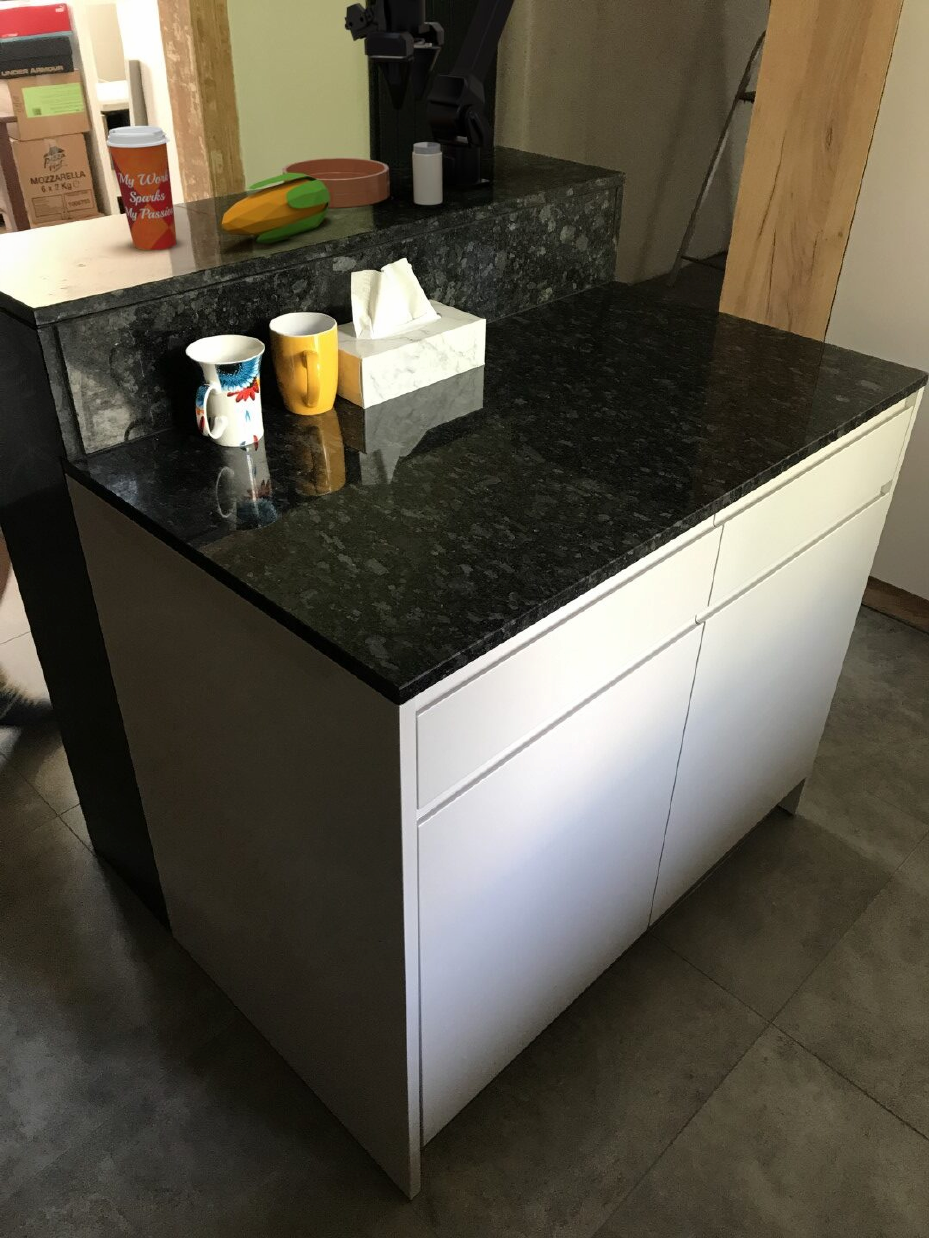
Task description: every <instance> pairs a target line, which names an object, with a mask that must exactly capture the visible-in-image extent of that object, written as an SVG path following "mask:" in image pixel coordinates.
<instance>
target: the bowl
mask: <svg viewBox="0 0 929 1238" xmlns="http://www.w3.org/2000/svg"><path fill="white" fill-rule="evenodd" d="M281 172H282V175H283V174H286V173H302V174H305V175H308V176H310V177H313V178H315V179H317V180H318V181H321V182H322V183H323V184H324V185H325V186H326V188H327V190H328V192H329V196H330V200H329V201H328V209H329V208H331V209H337V208H339V209H340V208H353V207H362V206H363V207H364V206H369V205H373V204H377V203H380V202H382V201H385V200H387V199H388V198H389V197H390V196H391V187H390V168H389V166H388V165H387V164H386V163H384V162H381V161H379V160H372V159H366V158H357V157H328V158H327V157H323V158H314V159H306V160H301V161H296V162H293V163H289V164H287V165H285V166H283V167H282V169H281ZM295 179H297V178H295ZM290 180H293V179H289V180H284V181H282V183H284V182H287V181H290Z"/></svg>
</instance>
